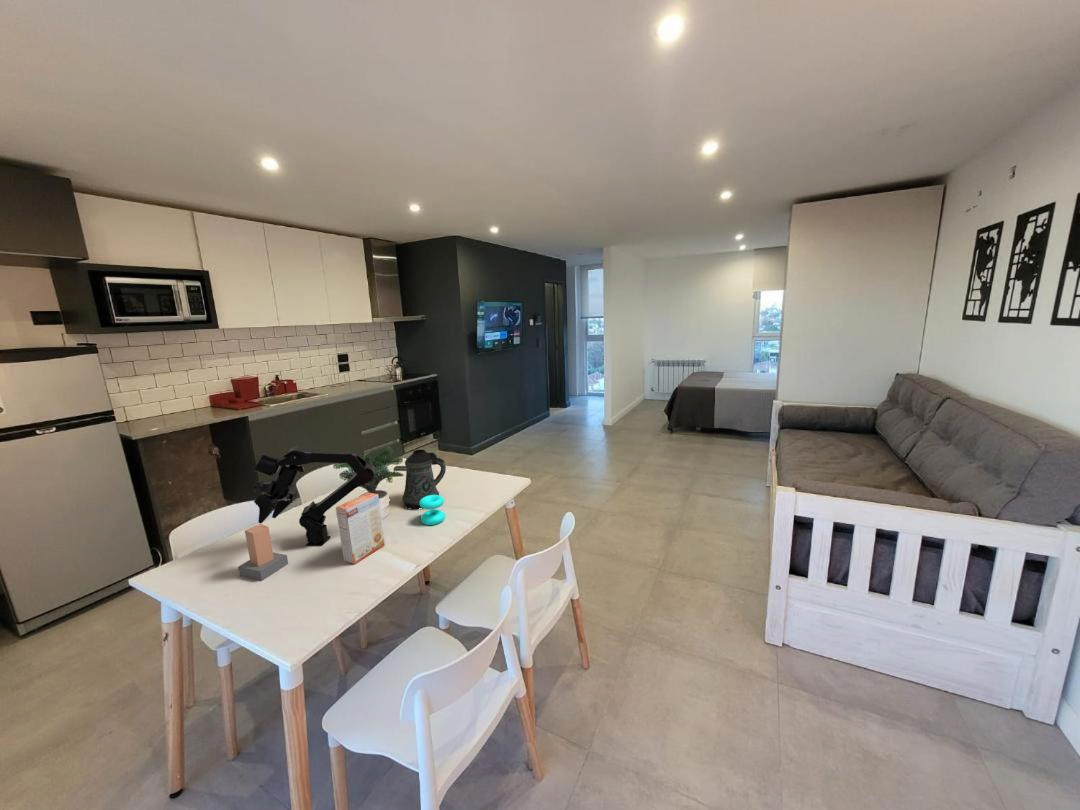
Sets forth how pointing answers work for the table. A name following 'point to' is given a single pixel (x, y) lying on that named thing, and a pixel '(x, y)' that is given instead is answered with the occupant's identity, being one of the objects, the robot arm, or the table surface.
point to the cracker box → (360, 527)
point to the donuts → (430, 504)
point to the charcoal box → (263, 567)
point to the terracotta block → (259, 544)
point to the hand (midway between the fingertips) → (266, 520)
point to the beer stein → (421, 477)
